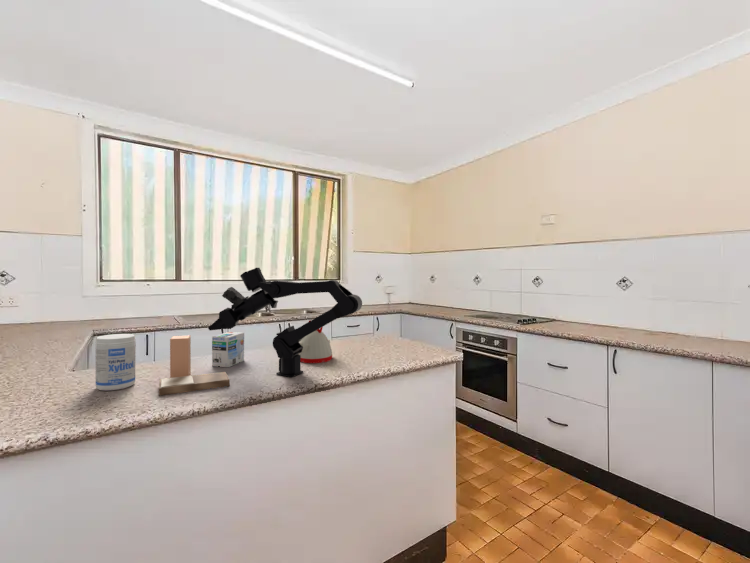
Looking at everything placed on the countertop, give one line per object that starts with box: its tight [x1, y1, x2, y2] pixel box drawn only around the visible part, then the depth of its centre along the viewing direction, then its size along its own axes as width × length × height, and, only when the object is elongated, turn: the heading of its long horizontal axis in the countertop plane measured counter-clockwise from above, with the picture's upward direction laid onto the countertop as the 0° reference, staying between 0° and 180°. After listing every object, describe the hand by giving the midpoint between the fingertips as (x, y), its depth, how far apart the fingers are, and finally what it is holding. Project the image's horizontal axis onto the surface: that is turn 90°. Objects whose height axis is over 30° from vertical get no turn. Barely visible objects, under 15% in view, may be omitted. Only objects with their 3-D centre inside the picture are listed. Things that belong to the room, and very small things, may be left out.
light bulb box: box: [211, 331, 245, 368], centre depth 134 cm, size 11×7×11 cm, turn 168°
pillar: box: [169, 334, 192, 378], centre depth 116 cm, size 5×5×13 cm
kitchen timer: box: [299, 319, 333, 364], centre depth 143 cm, size 14×14×15 cm
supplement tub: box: [95, 333, 137, 391], centre depth 107 cm, size 10×10×15 cm
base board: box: [158, 371, 231, 396], centre depth 108 cm, size 18×9×2 cm, turn 119°
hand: (213, 325), depth 123 cm, fingers open, 9 cm apart
